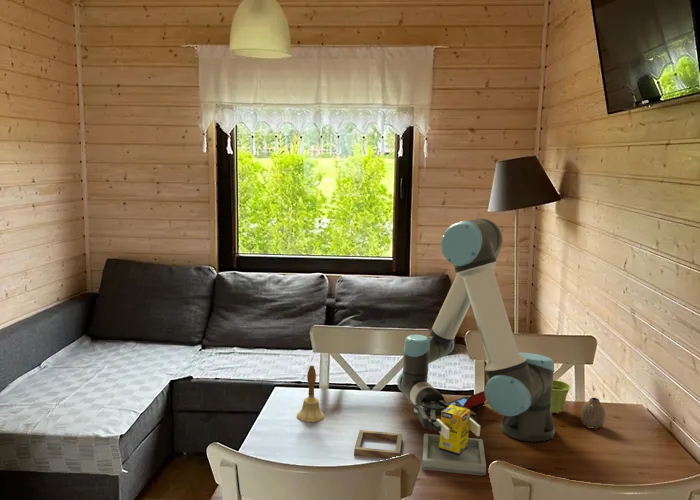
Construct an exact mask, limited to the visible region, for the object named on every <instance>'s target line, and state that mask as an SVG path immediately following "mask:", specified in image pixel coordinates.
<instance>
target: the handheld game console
mask: <svg viewBox="0 0 700 500" xmlns="http://www.w3.org/2000/svg"><path fill="white" fill-rule="evenodd" d="M455 401H458V402H459V403H460V404H461V405H462V406H464V407H466V408H467V409H469V410H471V411H472V409H473V410H477V409H480V408H482V407H484V406H485V404H486V403H485V402H487V400H486V397H485V390H483V391H479V392H478V393H475V394H472V395H469V396H463V397H460V398H458V399H454V400H452V401H449V403H450V404H454V403H455ZM483 405H484V406H483ZM481 406H482V407H481ZM476 408H477V409H476Z"/></svg>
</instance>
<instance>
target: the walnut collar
mask: <svg viewBox="0 0 700 500" xmlns="http://www.w3.org/2000/svg"><path fill="white" fill-rule="evenodd" d="M364 439H367V440H369V439H371V440H378V441H379V440H380V441H387V442H388V441H389V442H396V444H395V445H396V446H395V450H391V449H382V448H381V449H380V448H369V447H363V446H362V444H363V440H364ZM402 443H403V433H399V432H398V433H395V432H385V431H384V432H383V431H376V430H374V431H373V430H367V429H366V430H365V429H359V432H358V435H357V438H356V442H355V445H354V449H353V450H354V451H353V456H357V455H358V456H357V457H367V458H377V459H388V458H392V457H396V456H401V449H402ZM388 460H389V459H388Z"/></svg>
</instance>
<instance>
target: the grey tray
mask: <svg viewBox="0 0 700 500" xmlns="http://www.w3.org/2000/svg"><path fill="white" fill-rule="evenodd" d="M483 440H484V438H483V439H482V438H475V437H474V438H473V437H468V447H467V449H466V450H464V451H463V452H462V453H461V454H460V455H459V456H457V455H454V454H451V453H448V452H444V451H441V450H439V442H440V434H431V433H424V434H423V445H422V449H423V450H422V462H421V470H424V471H425V470H427V471H434V472H435V471H436V472H444V473H445V472H446V473H455V474H462V475H463V474H464V475H466V474H467V475H472V476H473V475H475V476H483V475H486V474H487V462H486V455H485V447H484V441H483ZM486 476H487V475H486Z"/></svg>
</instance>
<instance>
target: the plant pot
mask: <svg viewBox="0 0 700 500" xmlns="http://www.w3.org/2000/svg"><path fill="white" fill-rule="evenodd" d="M570 389H571V385H570V384H569V383H567V382H564V381H562V380H558V379H553V386H552V396H551V407H550V410H551V412H561V411H563V412H564V407H565V405H566V404H565V403H566V399H567V395H568V393H569V391H570Z"/></svg>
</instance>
